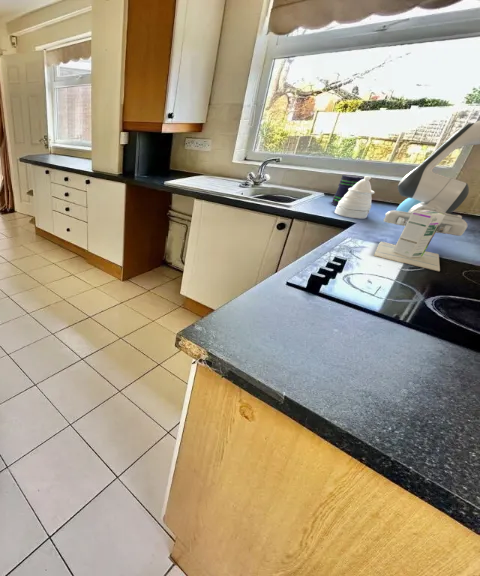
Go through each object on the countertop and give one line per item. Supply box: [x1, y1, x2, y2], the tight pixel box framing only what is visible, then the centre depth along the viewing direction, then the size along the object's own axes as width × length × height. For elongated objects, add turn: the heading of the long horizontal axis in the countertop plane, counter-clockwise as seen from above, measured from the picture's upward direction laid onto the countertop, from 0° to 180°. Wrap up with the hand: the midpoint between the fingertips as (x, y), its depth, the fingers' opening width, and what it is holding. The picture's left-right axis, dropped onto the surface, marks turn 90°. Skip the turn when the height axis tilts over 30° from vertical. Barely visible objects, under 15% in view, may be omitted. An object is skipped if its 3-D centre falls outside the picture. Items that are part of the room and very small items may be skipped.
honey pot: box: [334, 175, 376, 220], centre depth 149 cm, size 13×13×18 cm
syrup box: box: [393, 210, 445, 258], centre depth 103 cm, size 6×6×14 cm
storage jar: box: [331, 174, 365, 206], centre depth 169 cm, size 10×10×15 cm
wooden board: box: [373, 241, 441, 272], centre depth 107 cm, size 16×20×1 cm
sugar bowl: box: [396, 197, 421, 212], centre depth 153 cm, size 15×15×12 cm
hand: (422, 226), depth 103 cm, fingers open, 8 cm apart
